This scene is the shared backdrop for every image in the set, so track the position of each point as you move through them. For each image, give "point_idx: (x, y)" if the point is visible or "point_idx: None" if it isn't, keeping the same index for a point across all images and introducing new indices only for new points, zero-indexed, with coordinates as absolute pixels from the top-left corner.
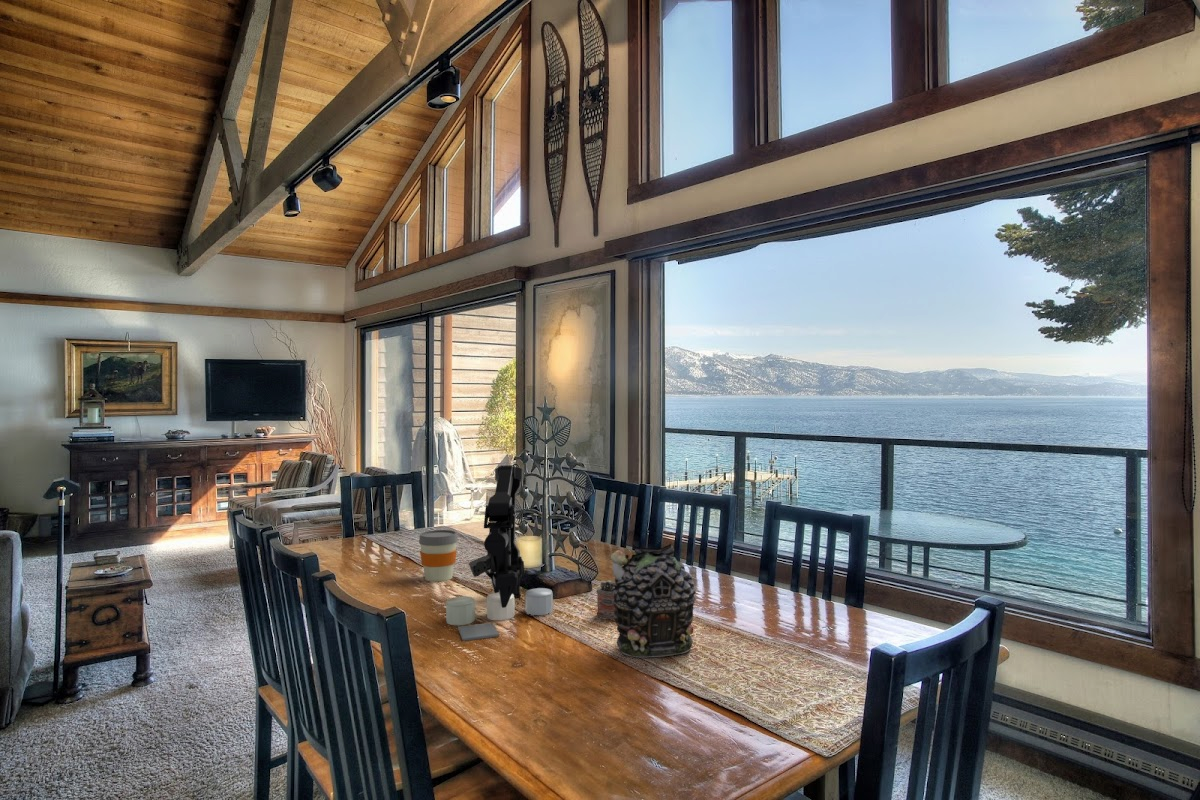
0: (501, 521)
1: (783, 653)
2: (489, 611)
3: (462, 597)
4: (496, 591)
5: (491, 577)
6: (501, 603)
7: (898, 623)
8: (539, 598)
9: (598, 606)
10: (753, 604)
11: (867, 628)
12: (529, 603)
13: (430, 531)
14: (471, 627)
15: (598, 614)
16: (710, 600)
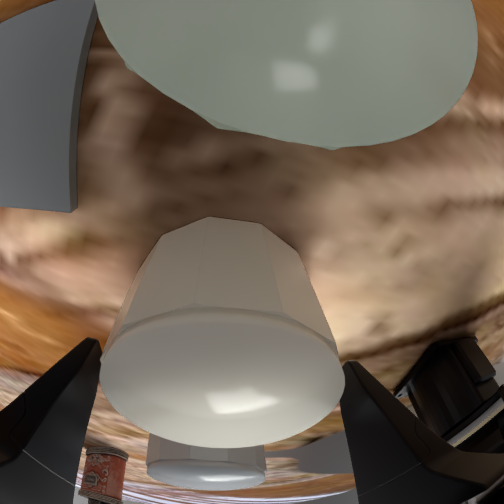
0: None
1: None
2: (185, 249)
3: (436, 41)
4: (360, 401)
5: (434, 481)
6: (65, 355)
7: (75, 485)
8: (146, 461)
9: (108, 468)
10: (134, 495)
11: None
12: None
13: None
14: (45, 68)
15: (108, 453)
16: (160, 495)
